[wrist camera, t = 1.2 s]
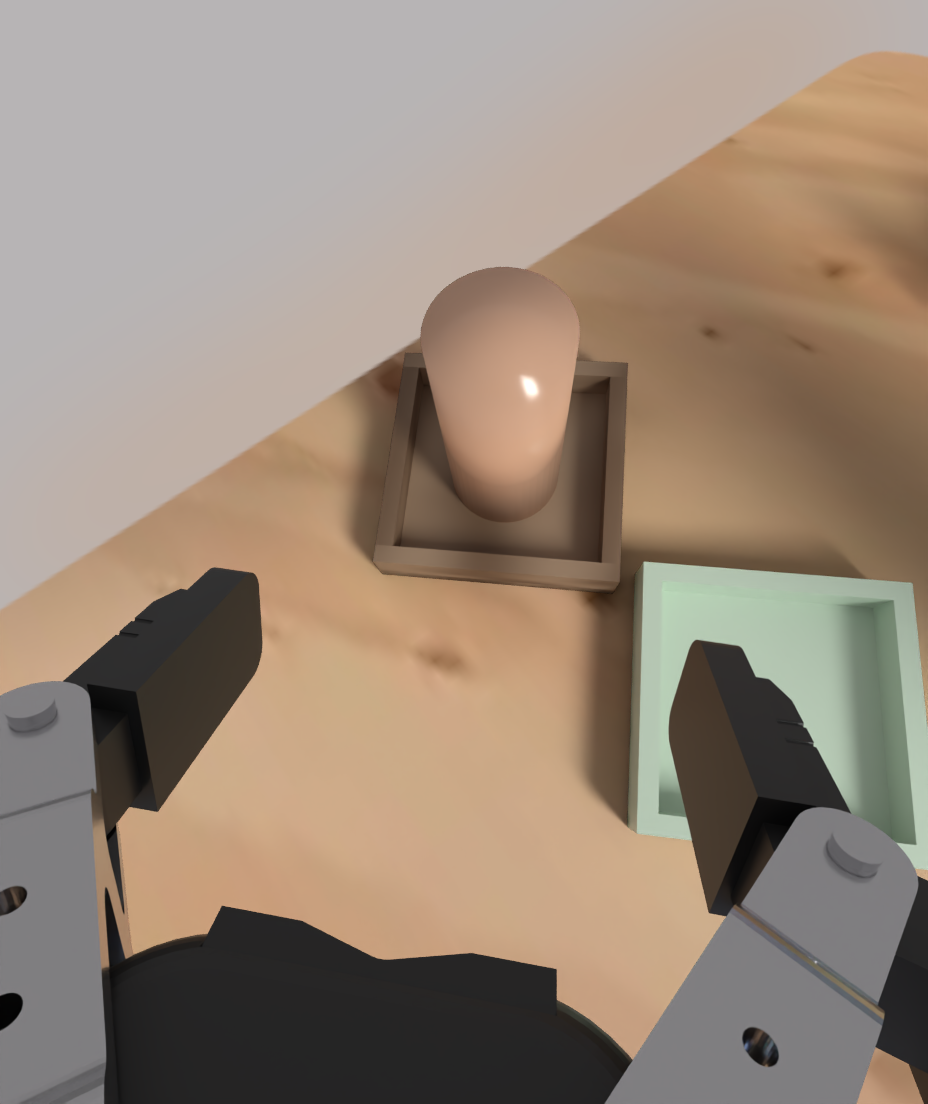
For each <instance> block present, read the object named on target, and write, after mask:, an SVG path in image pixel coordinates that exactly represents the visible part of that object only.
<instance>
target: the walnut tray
mask: <svg viewBox="0 0 928 1104" xmlns="http://www.w3.org/2000/svg"><path fill="white" fill-rule="evenodd" d="M627 371H628V363H619V362H597V361H576V366H575V372H574V379H573V385H572V392H571V398H570V404H569V411H568V417H567V424H566V430H565V437H564V443H563V450H562V456H561V462H560V469H559V475H558V482H557V486H556V489H555V491H554V494H553V496H552V497H551V499H550V500H549V502H548V503H547V504H546V505H545V506H544V507H543V508H542V509H541V510H540V511H538V512H537V513H535V514H534V515H532V516H530V517H528V518H526V519H523V520H520V521H515V522H508V523H507V522H494V521H490V520H486V519H484V518H481V517H479V516H478V515H476V514H474V513H473V512H471V511H470V510H469V509H468V508H467V507H466V506H465V505H464V504H463V503H462V501H461V500H460V498H459V497H458V495H457V493H456V490H455V487H454V483H453V479H452V474H451V470H450V466H449V462H448V458H447V453H446V449H445V445H444V441H443V437H442V432H441V428H440V424H439V420H438V416H437V411H436V407H435V403H434V399H433V395H432V390H431V386H430V382H429V378H428V374H427V369H426V365H425V361H424V357H423V354H422V353H405V358H404V365H403V371H402V378H401V384H400V390H399V397H398V403H397V410H396V416H395V422H394V429H393V435H392V442H391V448H390V454H389V461H388V467H387V474H386V480H385V486H384V493H383V499H382V506H381V512H380V518H379V525H378V531H377V538H376V544H375V551H374V557H373V562H374V564H375V565H376V566H377V567H378V569H379V570H380V571H381V573H382V574H387V575H399V576H410V577H422V578H434V579H446V580H458V581H469V582H481V583H493V584H505V585H517V586H528V587H540V588H552V589H564V590H575V591H587V592H599V593H611V594H612V593H613V592H614V590H615V589H616V587H617V585H618V584H619V582H620V561H621V534H622V507H623V480H624V453H625V425H626V398H627Z"/></svg>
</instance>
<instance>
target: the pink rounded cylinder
mask: <svg viewBox="0 0 928 1104" xmlns="http://www.w3.org/2000/svg"><path fill="white" fill-rule="evenodd" d="M420 339H421V348H422V353H423V357H424V361H425V365H426V369H427V374H428V378H429V382H430V386H431V390H432V395H433V399H434V403H435V407H436V411H437V416H438V420H439V424H440V428H441V432H442V437H443V441H444V445H445V449H446V453H447V458H448V462H449V466H450V470H451V474H452V479H453V483H454V487H455V490H456V493H457V495H458V497H459V498H460V500H461V501H462V503H463V504H464V505H465V506H466V507H467V508H468V509H469V510H470V511H471V512H473V513H474V514H476V515H478V516H479V517H481V518H484V519H486V520H490V521H494V522H507V523H508V522H515V521H520V520H523V519H526V518H528V517H530V516H532V515H534V514H535V513H537V512H538V511H540V510H541V509H542V508H543V507H544V506H545V505H546V504H547V503H548V502H549V500H550V499H551V497H552V496H553V494H554V491H555V489H556V486H557V482H558V475H559V469H560V462H561V456H562V450H563V443H564V437H565V430H566V424H567V417H568V411H569V404H570V398H571V392H572V385H573V379H574V372H575V366H576V359H577V353H578V346H579V339H580V325H579V319H578V315H577V312H576V310H575V308H574V306H573V304H572V302H571V300H570V299H569V298H568V296H567V295H566V294H565V293H564V291H563V290H562V289H561V288H560V287H558V286H557V285H556V284H555V283H553V282H552V281H550V280H549V279H547V278H546V277H544V276H541V275H539V274H537V273H535V272H531V271H528V270H524V269H519V268H512V267H495V268H487V269H483V270H479V271H475V272H472V273H470V274H467V275H465V276H463V277H461V278H459V279H457V280H456V281H454V282H452V283H451V284H449V285H448V286H447V287H446V288H445V289H443V290H442V291H441V292H440V293H439V294H438V295H437V297H436V298H435V299H434V301H433V302H432V303H431V305H430V306H429V308H428V310H427V312H426V314H425V317H424V319H423V323H422V327H421V337H420Z"/></svg>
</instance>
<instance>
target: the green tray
mask: <svg viewBox="0 0 928 1104" xmlns="http://www.w3.org/2000/svg"><path fill="white" fill-rule="evenodd" d="M695 640H703V641H710V642H717V643H724V644H730V645H737V646H740V647H741V648H742V649H743V651H744V653H745V655H746V657H747V659H748V661H749V663H750V665H751V668H752V670H753V672H754V674H755V676H756V677H760V678H766V679H770V680H771V681H772V682H773V683H774V684H775V685H776V686H777V687H778V688H779V689H780V690H781V691H783V692H784V693H785V694H786V695H787V696H788V697H789V698H790V699H791V700H792V701H793V703H794V705H795V707H796V709H797V711H798V713H799V715H800V717H801V719H802V720H803V722H804V727H805V728H807V730H808V732H809V734H810V736H811V738H812V739H813V741H814V747H817V749H818V751H819V753H820V755H821V757H822V758H823V760H824V762H825V764H826V766H827V768H828V770H829V772H830V774H831V776H832V778H833V779H834V781H835V783H836V785H837V787H838V789H839V791H840V793H841V795H842V797H843V798H844V800H845V802H846V804H847V806H848V808H849V810H850V812H851V814H853V815H855V816H858V817H860V818H862V819H864V820H866V821H867V822H869V823H871V824H872V825H874V826H876V827H877V828H879V829H880V830H881V831H883V832H884V833H885V834H887V835H888V836H889V837H890V838H891V839H892V840H893V841H895V842H896V843H897V844H898V845H899V847H900V848H901V849H902V850H903V851H904V852H905V854H906V855H907V856H908V858H909V859H910V861H911V863H912V864H913V866H914V868H916V869H924V870H928V729H927V719H926V710H925V700H924V690H923V680H922V671H921V661H920V651H919V642H918V632H917V622H916V612H915V603H914V593H913V583H908V582H895V581H882V580H870V579H857V578H844V577H832V576H819V575H806V574H794V573H781V572H768V571H756V570H743V569H730V568H718V567H705V566H692V565H680V564H667V563H654V562H643V564H642V565H641V567H640V568H639V569H638V571H637V572H636V574H635V584H634V617H633V651H632V685H631V718H630V752H629V786H628V819H627V827H628V828H630V829H631V830H633V831H634V832H635V833H637V834H644V835H652V836H660V837H668V838H676V839H684V840H692V838H691V834H690V830H689V825H688V821H687V817H686V813H685V808H684V804H683V800H682V795H681V791H680V787H679V782H678V778H677V774H676V770H675V765H674V761H673V757H672V752H671V748H670V743H669V734H668V728H669V716H670V711H671V707H672V703H673V700H674V697H675V694H676V690H677V687H678V684H679V681H680V677H681V674H682V671H683V667H684V664H685V661H686V658H687V654H688V651H689V648H690V646H691V644H692V643H693V642H694V641H695Z"/></svg>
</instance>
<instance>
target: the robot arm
mask: <svg viewBox="0 0 928 1104" xmlns="http://www.w3.org/2000/svg"><path fill="white" fill-rule="evenodd" d="M261 653H262V628H261V613H260V597H259V583H258V579H257V577H256V575H255V574H254V573H249V572H243V571H236V570H229V569H222V568H211V569H210V570H208V571H207V572H206V573H205V574H204V575H203V576H202V577H201V578H200V579H199V580H197V581H196V582H195V583H194V584H193V585H192V586H191V587H190V588H189V589H188V590H184V589H179V590H177V591H175V592H173V593H171V594H169V595H166V596H164V597H162V598H160V599H158V600H156V601H154V602H153V603H151V604H150V605H149V606H148V607H147V608H146V609H145V610H143V611H142V612H141V613H140V614H139V615H138V616H137V617H135V621H131V622H130V623H129V624H128V625H126V626H125V627H124V628H123V629H122V630H121V631H120V633H119V635H115V636H114V637H113V638H112V639H111V640H109V641H108V642H107V643H106V644H105V645H104V646H103V647H101V648H100V649H99V650H98V651H97V652H96V653H95V654H93V655H92V656H91V657H90V658H89V659H88V660H87V661H86V662H84V663H83V664H82V665H81V666H80V667H79V668H78V669H76V670H75V671H74V672H73V673H72V674H71V675H70V676H69V677H67V678H66V679H65V680H64V681H63V682H61V681H50V682H41V683H35V684H30V685H26V686H23V687H20V688H17V689H14V690H12V691H9V692H7V693H5V694H3V695H1V696H0V1104H856V1103H857V1100H858V1097H859V1094H860V1091H861V1088H862V1085H863V1082H864V1079H865V1076H866V1073H867V1070H868V1067H869V1064H870V1061H871V1058H872V1055H873V1052H874V1049H875V1047H877V1048H878V1049H880V1050H882V1051H884V1052H886V1053H888V1054H890V1055H892V1056H894V1057H896V1058H898V1059H900V1060H902V1061H904V1062H906V1063H908V1064H909V1066H910V1069H911V1071H912V1074H913V1076H914V1079H915V1082H916V1084H917V1087H918V1089H919V1092H920V1095H921V1097H922V1100H923V1102H924V1104H928V881H927V880H925V879H923V878H921V877H918V876H917V874H916V871H915V868H914V866H913V864H912V863H911V861H910V859H909V858H908V856H907V855H906V854H905V852H904V851H903V850H902V849H901V848H900V847H899V845H898V844H897V843H896V842H895V841H893V840H892V839H891V838H890V837H889V836H888V835H887V834H885V833H884V832H883V831H881V830H880V829H879V828H877V827H876V826H874V825H872V824H871V823H869V822H867V821H866V820H864V819H862V818H860V817H858V816H855V815H853V814H851V812H850V810H849V808H848V806H847V804H846V802H845V800H844V798H843V797H842V795H841V793H840V791H839V789H838V787H837V785H836V783H835V781H834V779H833V778H832V776H831V774H830V772H829V770H828V768H827V766H826V764H825V762H824V760H823V758H822V757H821V755H820V753H819V751H818V749H817V747H814V741H813V739H812V738H811V736H810V734H809V732H808V730H807V728H805V727H804V722H803V720H802V719H801V717H800V715H799V713H798V711H797V709H796V707H795V705H794V703H793V701H792V700H791V699H790V698H789V697H788V696H787V695H786V694H785V693H784V692H783V691H781V690H780V689H779V688H778V687H777V686H776V685H775V684H774V683H773V682H772V681H771V680H770V679H766V678H760V677H756V676H755V674H754V672H753V670H752V668H751V665H750V663H749V661H748V659H747V657H746V655H745V653H744V651H743V649H742V648H741V647H740V646H737V645H730V644H724V643H717V642H710V641H703V640H695V641H694V642H693V643H692V644H691V646H690V648H689V651H688V654H687V658H686V661H685V664H684V667H683V671H682V674H681V677H680V681H679V684H678V687H677V690H676V694H675V697H674V700H673V703H672V707H671V711H670V716H669V728H668V734H669V743H670V748H671V752H672V757H673V761H674V765H675V770H676V774H677V778H678V782H679V787H680V791H681V795H682V800H683V804H684V808H685V813H686V817H687V821H688V825H689V830H690V834H691V838H692V843H693V847H694V851H695V856H696V860H697V864H698V868H699V873H700V877H701V881H702V886H703V890H704V894H705V899H706V903H707V907H708V912H709V913H711V914H717V915H722V916H726V918H725V919H724V921H723V922H722V924H721V925H720V927H719V929H718V930H717V932H716V933H715V935H714V936H713V938H712V939H711V941H710V942H709V944H708V945H707V947H706V949H705V950H704V952H703V953H702V955H701V956H700V958H699V959H698V961H697V962H696V964H695V965H694V967H693V968H692V970H691V972H690V973H689V975H688V976H687V978H686V979H685V981H684V982H683V984H682V985H681V987H680V988H679V990H678V992H677V993H676V995H675V996H674V998H673V999H672V1001H671V1002H670V1004H669V1005H668V1007H667V1008H666V1010H665V1012H664V1013H663V1015H662V1016H661V1018H660V1019H659V1021H658V1022H657V1024H656V1025H655V1027H654V1028H653V1030H652V1032H651V1033H650V1035H649V1036H648V1038H647V1039H646V1041H645V1042H644V1044H643V1045H642V1047H641V1048H640V1050H639V1051H638V1053H637V1055H636V1056H635V1058H634V1059H633V1060H632V1059H631V1057H630V1056H629V1055H628V1054H627V1053H626V1052H625V1051H624V1050H623V1049H622V1048H621V1047H620V1046H619V1045H618V1044H617V1043H616V1042H615V1041H614V1040H613V1039H612V1038H611V1037H610V1036H609V1035H608V1034H607V1033H605V1032H604V1031H603V1030H602V1029H601V1028H599V1027H598V1026H597V1025H596V1024H594V1023H593V1022H592V1021H591V1020H589V1019H588V1018H586V1017H585V1016H583V1015H582V1014H580V1013H579V1012H577V1011H576V1010H574V1009H573V1008H571V1007H569V1006H567V1005H565V1004H563V1003H562V1002H560V1001H558V1000H557V969H553V968H547V967H542V966H537V965H532V964H526V963H521V962H516V961H510V960H505V959H500V958H495V957H489V956H484V955H479V954H474V953H468V954H455V955H443V956H430V957H418V958H405V959H393V960H383V959H377V958H375V957H372V956H370V955H368V954H366V953H364V952H362V951H360V950H358V949H356V948H354V947H352V946H350V945H348V944H346V943H344V942H342V941H340V940H338V939H336V938H334V937H333V936H331V935H329V934H327V933H325V932H323V931H321V930H319V929H317V928H315V927H313V926H311V925H309V924H307V923H305V922H303V921H300V920H294V919H289V918H284V917H278V916H273V915H268V914H263V913H257V912H252V911H247V910H242V909H236V908H231V907H226V906H222V907H221V909H220V911H219V913H218V915H217V917H216V919H215V921H214V923H213V925H212V927H211V929H210V931H209V933H208V934H202V935H195V936H190V937H185V938H180V939H175V940H172V941H169V942H166V943H163V944H159V945H156V946H153V947H151V948H149V949H146V950H144V951H142V952H139V953H137V954H135V955H133V949H132V943H131V935H130V927H129V917H128V907H127V898H126V888H125V878H124V869H123V859H122V849H121V839H120V832H119V827H118V823H117V822H118V821H119V820H120V818H121V817H122V816H123V814H124V813H125V812H126V810H127V809H128V808H129V807H133V808H139V809H145V810H150V811H156V812H158V811H159V809H160V808H161V806H162V805H163V804H164V802H165V801H166V799H167V798H168V796H169V795H170V794H171V792H172V791H173V789H174V788H175V787H176V785H177V784H178V782H179V781H180V779H181V778H182V777H183V775H184V774H185V772H186V771H187V769H188V768H189V767H190V765H191V764H192V762H193V761H194V760H195V758H196V757H197V755H198V754H199V752H200V751H201V750H202V748H203V747H204V745H205V744H206V743H207V741H208V740H209V738H210V737H211V735H212V734H213V733H214V731H215V730H216V728H217V727H218V725H219V724H220V723H221V721H222V720H223V718H224V717H225V716H226V714H227V713H228V711H229V710H230V708H231V707H232V706H233V704H234V703H235V701H236V700H237V698H238V697H239V696H240V694H241V693H242V691H243V690H244V689H245V687H246V686H247V684H248V683H249V681H250V680H251V679H252V677H253V676H254V674H255V672H256V670H257V668H258V665H259V662H260V658H261Z"/></svg>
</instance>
